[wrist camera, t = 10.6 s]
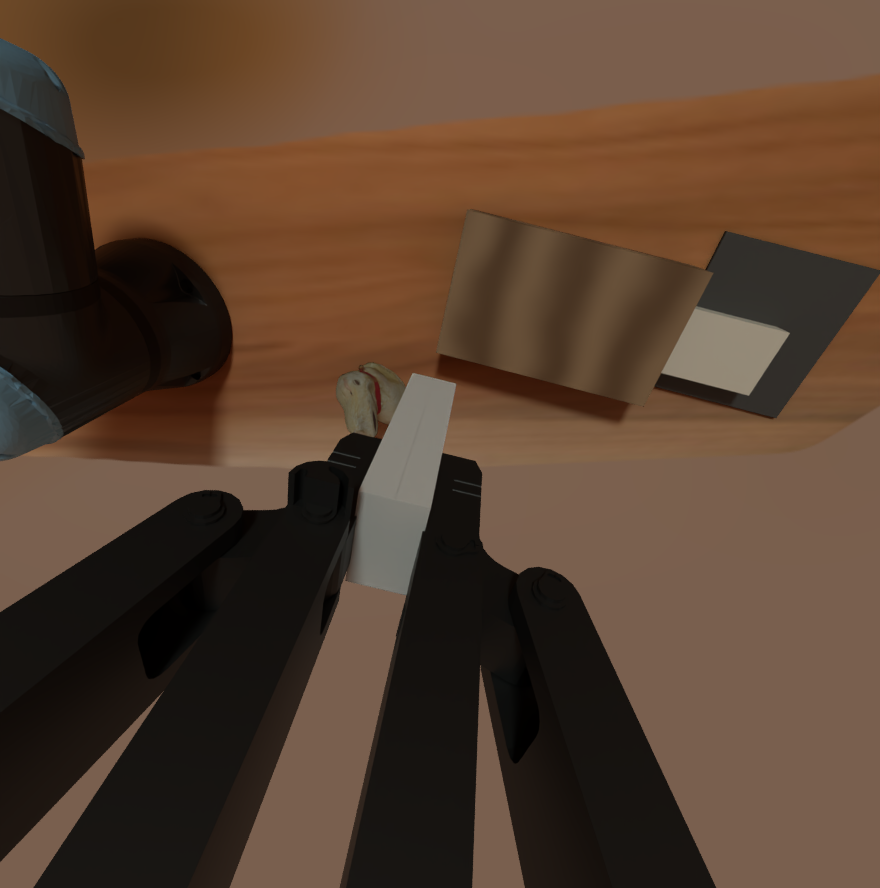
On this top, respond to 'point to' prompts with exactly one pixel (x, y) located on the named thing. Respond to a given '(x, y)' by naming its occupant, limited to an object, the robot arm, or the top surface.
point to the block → (724, 350)
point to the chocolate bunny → (369, 397)
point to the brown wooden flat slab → (566, 307)
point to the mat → (777, 312)
